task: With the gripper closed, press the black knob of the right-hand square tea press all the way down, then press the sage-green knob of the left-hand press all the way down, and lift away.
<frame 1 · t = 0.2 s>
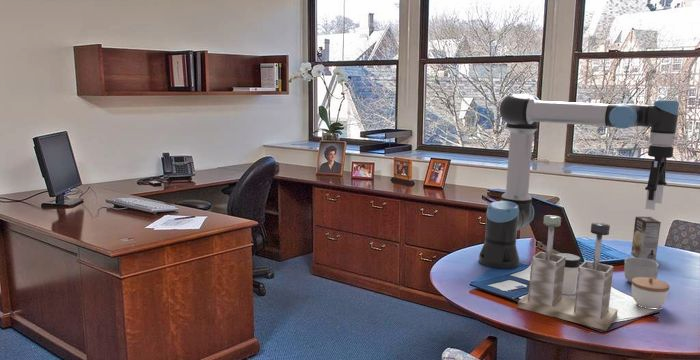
hand: (653, 206, 202), 28 cm above the table, tool pointing down, fingers open, 13 cm apart
plunger 2: (597, 253, 172), point 20 cm above the table, slide at 0.0 cm
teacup: (637, 282, 209), on the table
coffee box: (643, 257, 238), on the table
jar: (564, 291, 197), on the table
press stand: (566, 311, 180), on the table
plunger 1: (549, 244, 180), point 20 cm above the table, slide at 0.0 cm
lidded jar: (647, 306, 186), on the table
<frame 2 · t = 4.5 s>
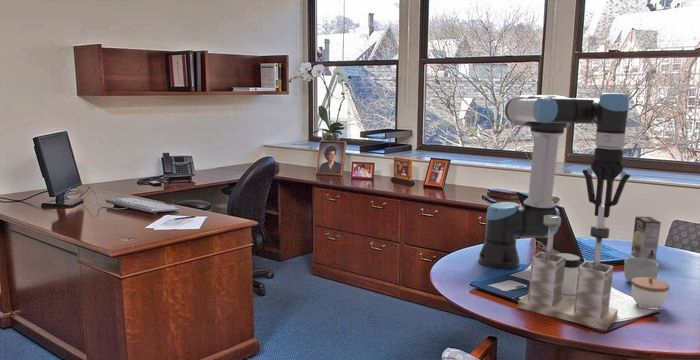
hand: (600, 227, 170), 28 cm above the table, tool pointing down, fingers closed
plunger 2: (597, 256, 172), point 19 cm above the table, slide at 1.0 cm, touching gripper
everything else where it was.
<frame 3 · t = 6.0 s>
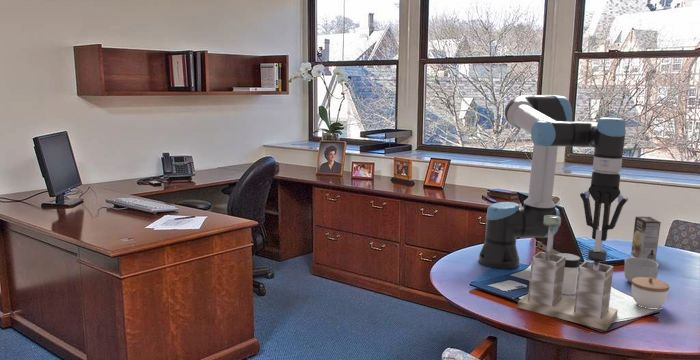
hand: (597, 250, 172), 21 cm above the table, tool pointing down, fingers closed
plunger 2: (594, 278, 173), point 12 cm above the table, slide at 8.0 cm, touching gripper
everything else where it was.
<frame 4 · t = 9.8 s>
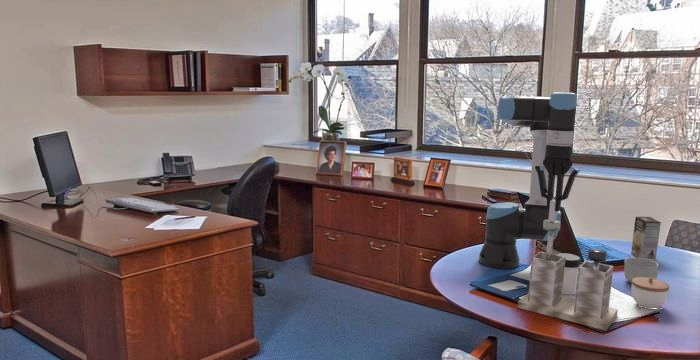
hand: (552, 220, 179), 28 cm above the table, tool pointing down, fingers closed
plunger 2: (594, 278, 173), point 12 cm above the table, slide at 8.0 cm
plunger 1: (549, 248, 180), point 19 cm above the table, slide at 1.4 cm, touching gripper
everything else where it was.
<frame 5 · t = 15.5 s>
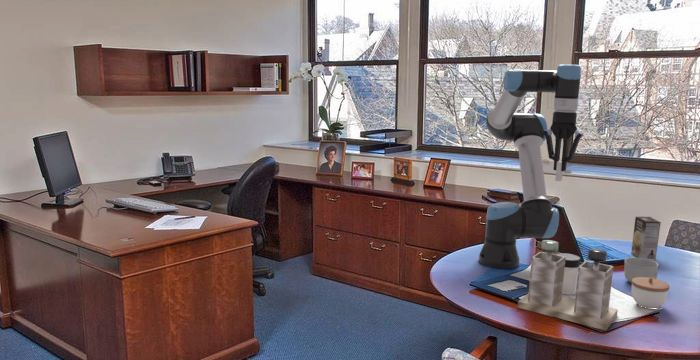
hand: (558, 180, 200), 36 cm above the table, tool pointing down, fingers closed
plunger 1: (547, 268, 181), point 12 cm above the table, slide at 8.0 cm
everything else where it was.
at the end: plunger 2 slide at 8.0 cm; plunger 1 slide at 8.0 cm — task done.
